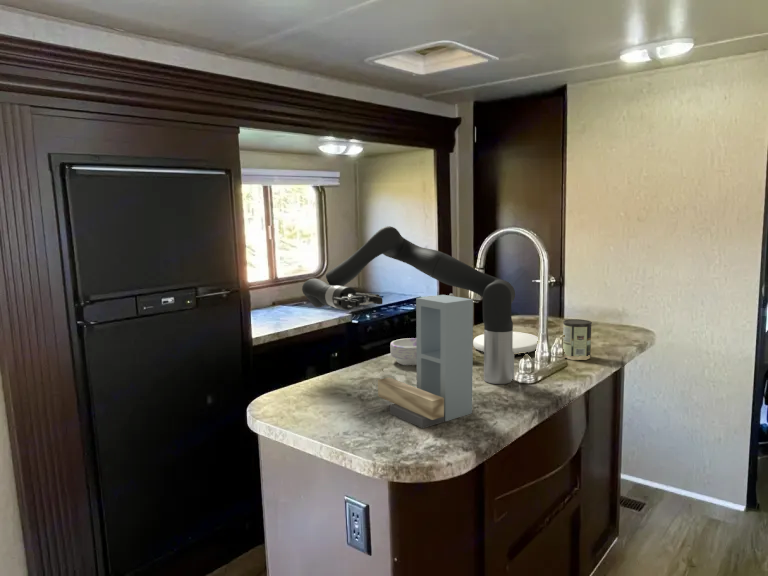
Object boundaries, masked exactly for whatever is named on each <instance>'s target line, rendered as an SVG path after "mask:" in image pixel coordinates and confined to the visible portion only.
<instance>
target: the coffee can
mask: <svg viewBox="0 0 768 576" xmlns="http://www.w3.org/2000/svg"><path fill="white" fill-rule="evenodd" d="M562 324H563V325H562V326H563V328H562V329H563V332H562V333H563V335H565V337H564V338H562V350H563V349H564V352H565V354H566V355H568V356H577V357H579V356H588V355H590V356H591V346H592V325H593V322H592V321H590V320H588V319H587V320H586V319H578V318H577V319H576V318H574V319H573V318H571V319H565V320H563V322H562ZM563 335H562V336H563Z"/></svg>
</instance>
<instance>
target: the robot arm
mask: <svg viewBox="0 0 768 576" xmlns="http://www.w3.org/2000/svg"><path fill="white" fill-rule="evenodd" d="M381 255H384V256H385V257H388V258H391V259H393V260H396V261H399V262H402V263H404V264H406V265H409V266H411V267H413V268H415V269H416V270H418V271H419V272H421V273H424V275H427V276H428V277H430V278H433V279H434V280H436V281H438V282H441V283H443V284H445V285H447V286H451V287H454V288H459V289H463V290H466V291H467V290H468V291H470V292H472V293H475V294H477V295H478V296H480V297H481V298H482V321H483V328H484V329H483V330H484V331H483V334H484V352H483V382H486V383H487V384H488V383H489V384H492V385H493V384H494V385H495V384H496V385H505V384H510V383H512V382H511V381H513V380H512V379H514V380H515V355H514V352H513V351H512V347H513V332H514V329H513V328H514V322H513V318H512V304H513V301H514V300H515V299H516V298H515V297H516V291H515V289H514V287H513V285H512V283H510V282H509V281H507V280H504V279H501V278H499V277H495V276H492V275H490V274H488V273H484V272H482V271H479V270H478V269H476V268H474V267H472V266H471V265H468V264H467V263H465V262H463V261H461V260H459V259H457V258H455V257H453V256H451V255H449V254H448V253H445V252H442V251H440V250H437V249H432V248H426V247H422V246H418V245H416V244H415V243H413V242H412V241H410V240H408V239H407V238H404V237H403V236H402V235H401V233H400V231H399V230H398V229H397V228H396V227H393V226H388V225H387V226H384V227H381V228H380V229H379V230H377V232H376V233H374V234H373V235H372V237H371V238H369V239H368V240H367V241H366V242H365V243H364V244H363V245H362V246H361V247H359V249H357V250H356V251H355V252H354V253H352V254H351V255H350V256H349V257H348V258H346V259H345V260H343V261H341V262H340V263H339V264H337V265H336V266H335V267H333V268H332V269H330V270H329V271H327V273H326V275H325V278H326V281H327V282H325V281H324V280H322V279H319V278H310V279H307V280H306V281H305V282H304V283H303V285H302V288H301V291H302V293H303V295H304V296H305V297H306V298H307V300H308V301H309V302H310V303H311V304H312V306H314V307H315V308H322V307H324V306H328V307H333V308H334V309H339V310H344V311H351V310H353V309H354V308H360V306H361V305H362V306H368V305H370V304H373V305H375V304H377V305H382V304H383V297H382V296H380V294H379V293H378V294H376V293H369V292H367V293H361V292H358V291H357V290H356V289H355V288H353V287H351V286H346V285H347V284H348V283H349V282H351V281H353V280H354V279H355V278H356V277H357V276H358V275H359V274H360V273H361V272H362V271H363V269H365V267H366V266H368V265H369V263H371V262H372V261H373V260H375V259H376V258H378V257H379V256H381Z"/></svg>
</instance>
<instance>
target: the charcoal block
mask: <svg viewBox="0 0 768 576" xmlns="http://www.w3.org/2000/svg"><path fill="white" fill-rule="evenodd" d="M390 414H391V415H392V416H395V417H397V418H398V419H400V420H404V421H405V422H407V423H410V424H412V425H415V426H417V427H419V428H421V429H425V428H428V427H431V426H435V425H437V424H438V425H439V424H441V423H444V422H445V421H444V417H441V418H437V419H434V420H431V419H429V418H427V417H424V416H422V415H420V414H417V413H415V412H413V411H410V410H408V409H406V408H404V407H401V406H399V405H397V404H394V403H392V404H389V415H390Z"/></svg>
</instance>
